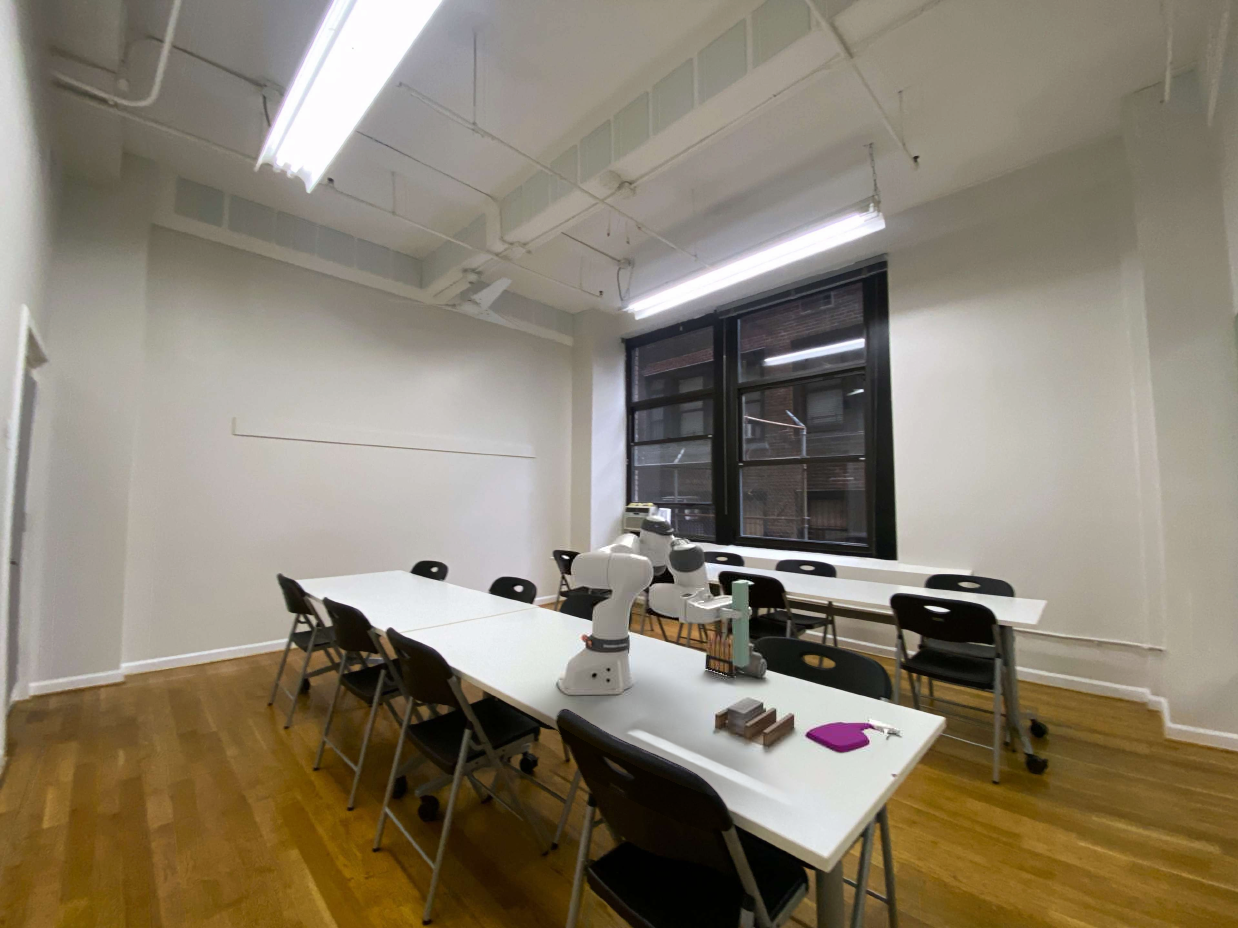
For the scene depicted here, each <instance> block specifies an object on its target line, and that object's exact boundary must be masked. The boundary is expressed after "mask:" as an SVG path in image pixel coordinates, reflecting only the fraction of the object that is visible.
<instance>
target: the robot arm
mask: <svg viewBox="0 0 1238 928" xmlns="http://www.w3.org/2000/svg"><path fill="white" fill-rule="evenodd" d="M674 532H675V529H674V528H673V527H672V526H671V523H670V522H669V521H668V520H667V518H665V517H662V516H660V515H649V516H645V518H643V519H642V521H641V524H640V533H639V536H637V534H634V533H631V532H630V533H623V534H621V535H619V536H618V537H616V538H615V539H614V540H613V541H612V543H610V544H609V545H607V546H604V547H602V548H599V549H595V550H592V551H589V552H583V553H579V554H577V555H576V556H575V558H573V560H572V562H571V567H570V573H571V576H572V580H573V581H574V583H575V584H576V585H579V586H581V587H586V588H588V589H589V588H590V589H604V590H611V591H612V594H611V596H610V597H609V598H607V599H604V600H603V601H600V602H599V603H597V604H596V605H595V606H594V608H593V611H592V621H591V622H592V623H591V624H592V627H591V628H592V629H591V631H592V632H591V634H590V635H588V634H585V633H584V634H582V636H581V640H582V641H583V643H585V647H584V648H583V649H582V650H581V651H579V652H577V654H576V655H574V656H573V657H571V659H569V660H568V662H567V664H566V665H567V666H566V669H565V675H560V676H559V677H558V679H557V687H558V688H559V690H560V691H561V692H562V693H564V694H565V695H568V696H588V695H589V696H591V695H593V696H594V695H595V696H596V695H598V696H599V695H621V694H622V693H624V691H625V690H627V689H630V688H631V687H632V686H633V680H632V675H631V670H630V660H629V654H630V647H631V640H630V635H629V622H630V613H631V609H632V605H633V603H634V601H635V600H636V598H637V597H638V596H639V595H640V593H642V592H643V591H644V590H646V588H648V587H649V586H650V585H651V584H652V581H653V579H654V576H659V575H661V574H663V573H664V572H665V571H666V568H667V570H668V571H669V572H670V573H671V575H672V576H673V580H674V583H666V582H664V583H661V582H659V583H658V582H657V583H654V584H652V585H651V586H650V588H649V590H648V596H647V597H648V603H649V605H650V608H651V609H652V610H653V611H654V612H656V613H658V614H660V615H664V616H666V617H670V618H671V617H672V618H678V620H679V622H680V623H682V624H683V623H684V624H687V623H693V624H703V625H704V624H710V623H712V622H715V621H721V620H723V619H732V618H736V619H738V618H741V617H742V615H741V614H742V612H741V611H740V610H732V595H725V594H724V595H718V596H713V594H712V593H711V589H710V583H709V579H708V573H707V566H706V561H705V560H706V559H705V553H704V550H703V549H702V547H700V546H699V545H697V544H695V543H692V542H691V541H690V540H689V539H687V538H684V537H683V538H681V537H675V536H674V534H673V533H674ZM752 614H753V610H752V607H750V606H749V616H751V615H752Z"/></svg>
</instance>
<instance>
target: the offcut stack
mask: <svg viewBox="0 0 1238 928" xmlns="http://www.w3.org/2000/svg"><path fill="white" fill-rule="evenodd" d="M737 702H738V703H737ZM737 702H736V704H735V703H733V704H734V705H733V704H731V705H729V706H728V707H726V708H727V715H728V720H727V721H725V728H727V729H729V730H732V731H735V732H738V733H740V734H743V735H745V724H747V723H748V722H750V721H751V720H753V719H755V718H756V717H758V716H760V715H761V714H763V713H764V712H766V711H767V708H766V707H764V701H760V700H757V699H753V698H750V697H745V698H743V699H740V700H739V701H737Z"/></svg>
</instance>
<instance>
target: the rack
mask: <svg viewBox="0 0 1238 928" xmlns="http://www.w3.org/2000/svg"><path fill="white" fill-rule="evenodd" d="M738 702H739V701H737V702H736V703H738ZM736 703H733V704H732V705H734V704H736ZM727 708H728V707H726V708H724V709H722V710H721V711H718V712H717V713H715V714H714V717H715V718H714V719H715V720H714V728H715V729H718V730H721V731H723V732H727V733H729V734H731V735H734V736H737V737H739V738H742V739H743V740H744V739H745V740H746V741H750V742H752V743H755V744H758V745H760V746H762V747H765V748H770V747H772V746H773V745H774V744H775V743H777V742H778V741H779V740H781V739H782V738H784V737H785V736H786V735H788V734H789V733H790V732H792V731H793V730H795V729H796V727H795V714H794V713H791V712H790V713H788V714H787V715H785V716H783V717H782V718H781V719H779V720H777V719H778V718H777V708H776V707H771V708H769V709H768V710H766V712H764V713H763V714H761V715H760V716H758V717H756V718H755V719H753V720H751V721H750V722H748V723H747V724H745V735H743V734H740V733H738V732H735V731H732V730H729V729H727V728H725V721H727V720H728V715H727Z"/></svg>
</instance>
